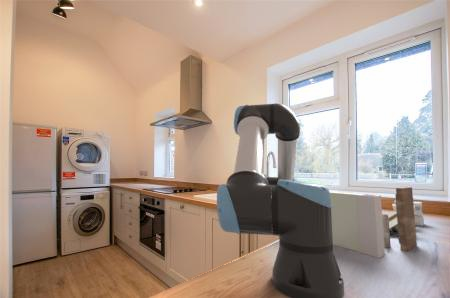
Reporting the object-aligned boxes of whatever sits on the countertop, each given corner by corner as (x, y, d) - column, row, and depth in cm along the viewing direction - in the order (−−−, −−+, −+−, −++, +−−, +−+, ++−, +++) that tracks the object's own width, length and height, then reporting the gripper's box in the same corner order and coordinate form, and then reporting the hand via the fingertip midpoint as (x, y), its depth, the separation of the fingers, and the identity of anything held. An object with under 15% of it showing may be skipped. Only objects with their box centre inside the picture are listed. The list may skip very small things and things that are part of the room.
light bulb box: (424, 224, 108) (422, 201, 109) (423, 226, 103) (421, 203, 104) (396, 220, 115) (395, 199, 116) (395, 222, 110) (393, 201, 111)
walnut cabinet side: (382, 246, 75) (378, 187, 77) (394, 240, 81) (390, 186, 83) (405, 252, 70) (400, 188, 72) (417, 245, 76) (412, 187, 78)
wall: (404, 248, 84) (429, 222, 86) (385, 230, 87) (410, 204, 88) (379, 242, 100) (401, 220, 102) (363, 227, 102) (385, 205, 104)
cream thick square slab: (325, 242, 79) (322, 192, 81) (332, 240, 82) (330, 191, 84) (378, 257, 65) (374, 196, 67) (384, 254, 68) (380, 195, 70)
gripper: (291, 212, 110) (333, 220, 92) (254, 218, 95) (295, 228, 78) (291, 197, 110) (332, 202, 93) (254, 200, 96) (294, 207, 79)
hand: (315, 214), depth 86 cm, fingers open, 13 cm apart
